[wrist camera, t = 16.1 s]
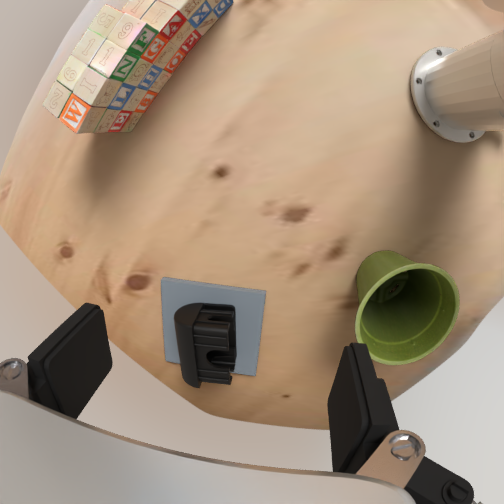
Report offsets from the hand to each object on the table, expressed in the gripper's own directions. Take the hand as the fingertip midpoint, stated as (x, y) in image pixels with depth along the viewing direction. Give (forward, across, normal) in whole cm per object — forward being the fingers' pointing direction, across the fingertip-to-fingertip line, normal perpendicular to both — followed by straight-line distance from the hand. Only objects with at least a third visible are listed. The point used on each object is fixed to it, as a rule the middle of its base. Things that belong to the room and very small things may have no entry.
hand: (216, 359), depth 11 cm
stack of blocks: (+29, +15, -19) cm, 37 cm away
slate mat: (+28, +6, +18) cm, 34 cm away
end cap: (+28, +6, +18) cm, 33 cm away
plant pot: (+28, -16, +7) cm, 33 cm away
